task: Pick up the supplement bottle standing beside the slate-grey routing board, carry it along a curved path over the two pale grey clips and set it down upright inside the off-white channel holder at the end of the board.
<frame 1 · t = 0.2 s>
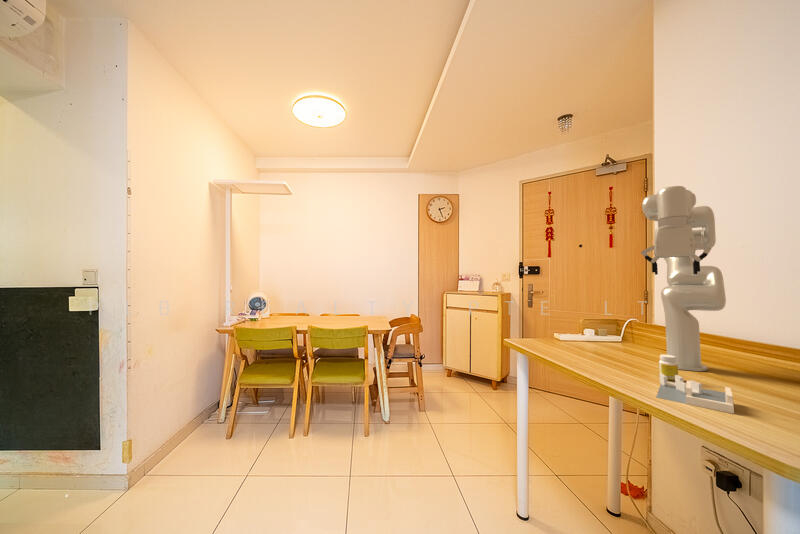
hand: (675, 274, 99), 36 cm above the table, tool pointing down, fingers open, 9 cm apart
routing board: (692, 397, 85), on the table
end holder: (708, 402, 80), resting on routing board
clip 1: (671, 385, 93), resting on routing board
supplement bottle: (668, 381, 99), on the table
clip 2: (688, 392, 87), resting on routing board
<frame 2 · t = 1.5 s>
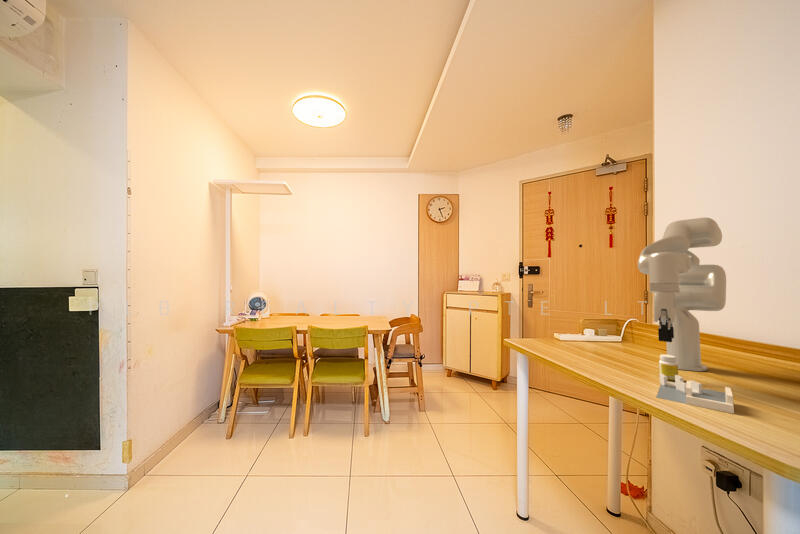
hand: (666, 339, 99), 14 cm above the table, tool pointing down, fingers open, 9 cm apart
nothing on the table moved.
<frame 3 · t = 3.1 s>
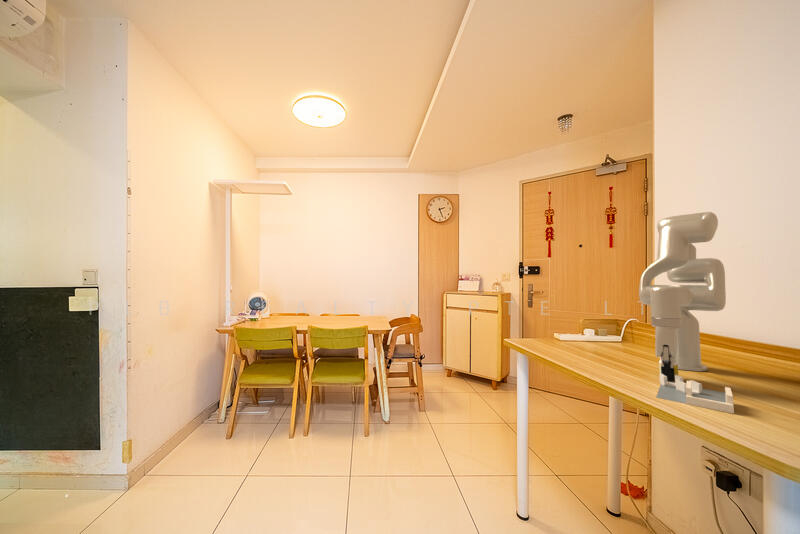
hand: (668, 376, 99), 1 cm above the table, tool pointing down, fingers closed on supplement bottle, 4 cm apart
supplement bottle: (668, 381, 99), on the table, touching gripper
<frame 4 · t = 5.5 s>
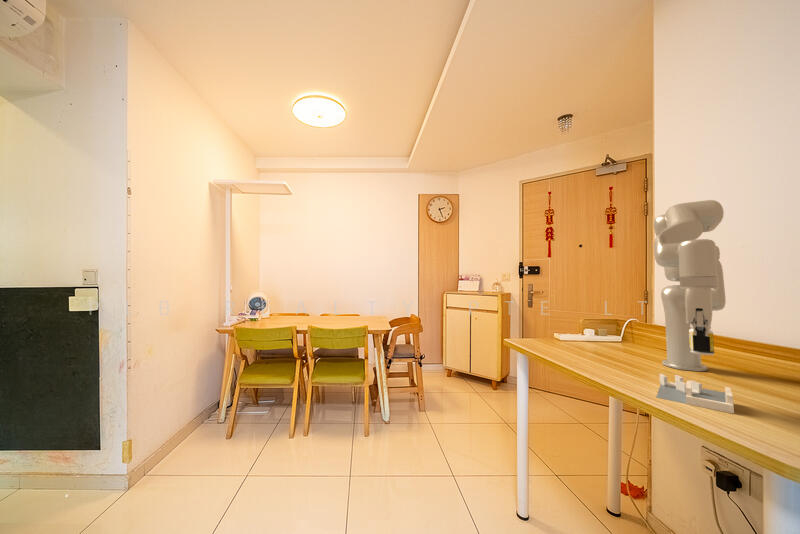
hand: (701, 348, 82), 15 cm above the table, tool pointing down, fingers closed on supplement bottle, 4 cm apart
supplement bottle: (701, 354, 82), point 13 cm above the table, touching gripper
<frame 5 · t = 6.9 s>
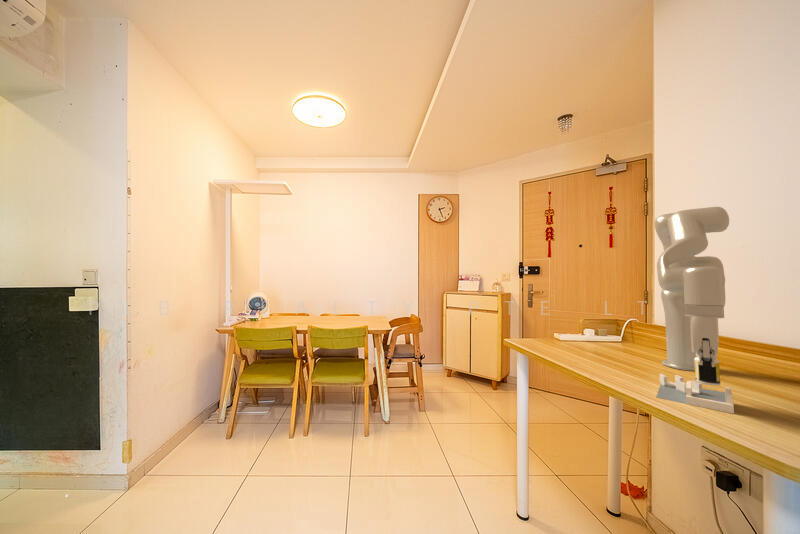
hand: (707, 377, 80), 7 cm above the table, tool pointing down, fingers closed on supplement bottle, 4 cm apart
supplement bottle: (707, 383, 80), point 6 cm above the table, touching gripper
when the fingers open (4 cm above the table, at t = 7.9 s): supplement bottle drops 2 cm, resting on routing board.
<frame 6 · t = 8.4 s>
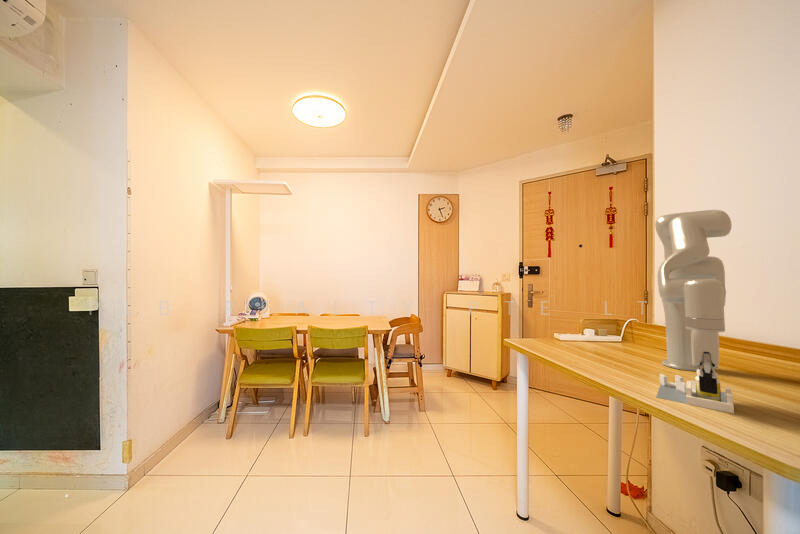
hand: (708, 387, 80), 5 cm above the table, tool pointing down, fingers open, 9 cm apart
supplement bottle: (708, 403, 80), resting on routing board
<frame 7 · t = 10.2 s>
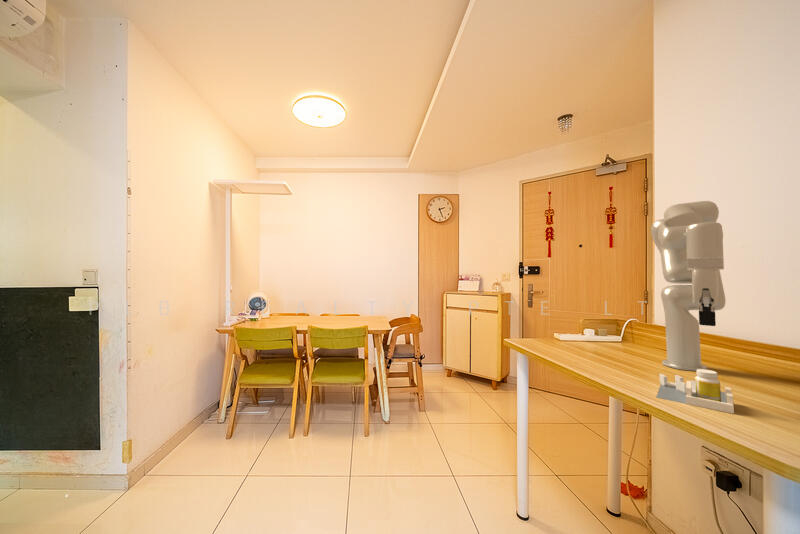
hand: (707, 322, 87), 21 cm above the table, tool pointing down, fingers open, 9 cm apart
nothing on the table moved.
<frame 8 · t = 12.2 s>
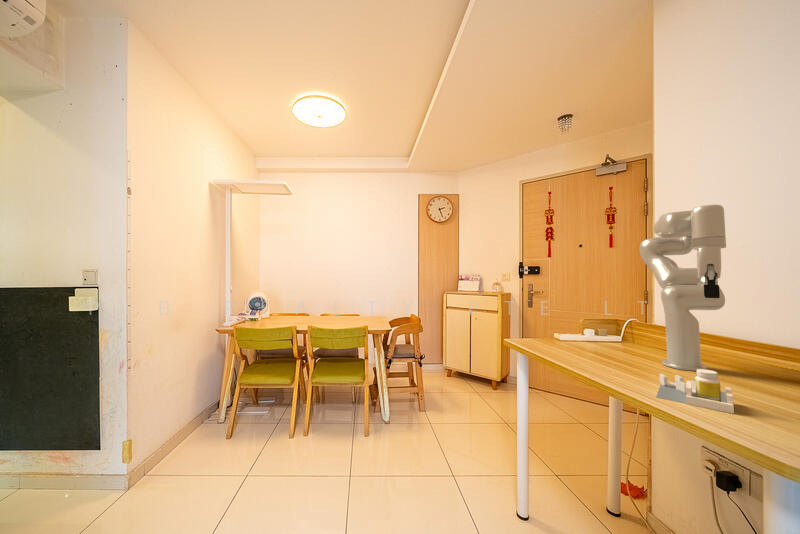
hand: (711, 297, 94), 28 cm above the table, tool pointing down, fingers open, 9 cm apart
nothing on the table moved.
at the end: supplement bottle inside the target area on the end holder (0.3 cm from its centre), point 0.0 cm above the end holder's base; supplement bottle tilted 0°; the gripper is holding nothing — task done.
